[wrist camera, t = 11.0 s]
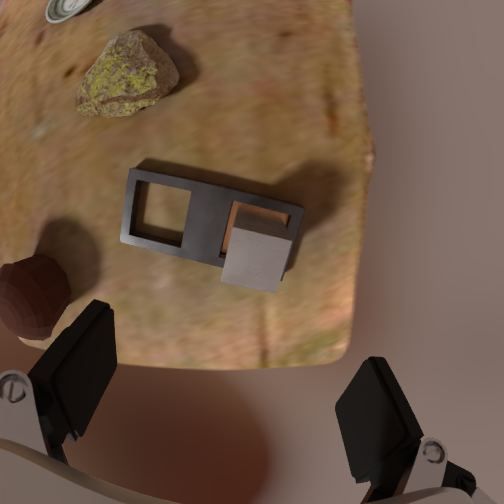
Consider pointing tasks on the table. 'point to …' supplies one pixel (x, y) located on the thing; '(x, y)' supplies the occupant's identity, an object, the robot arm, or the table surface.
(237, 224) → the silver rectangular block
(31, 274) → the muffin
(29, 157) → the table surface
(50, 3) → the saucer
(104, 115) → the rock
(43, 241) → the table surface
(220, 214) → the dark grey slotted tray
